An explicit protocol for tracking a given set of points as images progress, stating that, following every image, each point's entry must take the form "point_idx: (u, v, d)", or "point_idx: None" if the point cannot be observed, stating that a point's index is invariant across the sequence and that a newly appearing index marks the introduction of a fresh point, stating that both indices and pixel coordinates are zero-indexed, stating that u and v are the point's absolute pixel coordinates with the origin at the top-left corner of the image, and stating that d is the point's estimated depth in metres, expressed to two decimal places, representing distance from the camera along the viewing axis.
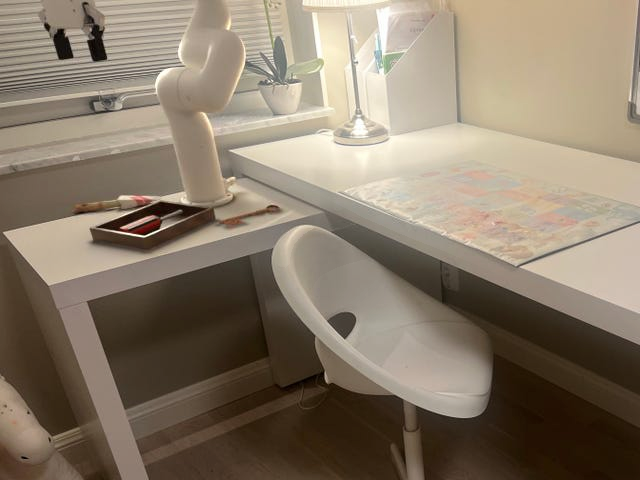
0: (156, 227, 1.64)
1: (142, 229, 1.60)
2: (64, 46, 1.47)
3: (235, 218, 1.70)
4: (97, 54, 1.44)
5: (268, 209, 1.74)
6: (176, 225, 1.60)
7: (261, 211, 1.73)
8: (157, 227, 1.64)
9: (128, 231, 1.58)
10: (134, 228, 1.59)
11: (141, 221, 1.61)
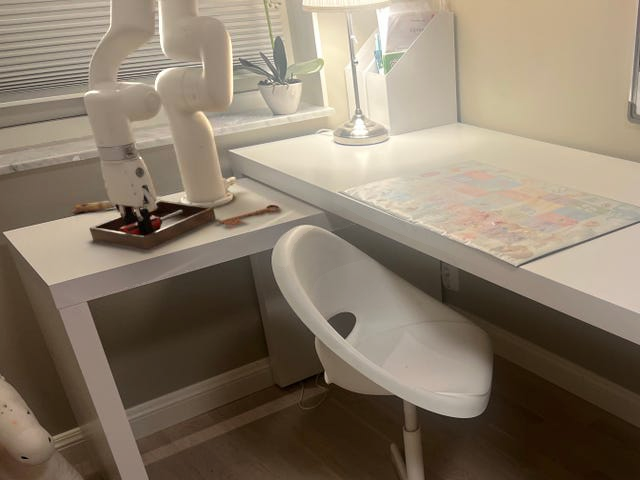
0: (156, 226, 1.64)
1: None
2: None
3: (235, 218, 1.70)
4: (145, 232, 1.60)
5: (268, 209, 1.74)
6: (176, 225, 1.60)
7: (261, 211, 1.73)
8: (157, 227, 1.64)
9: (128, 231, 1.58)
10: (133, 228, 1.59)
11: None
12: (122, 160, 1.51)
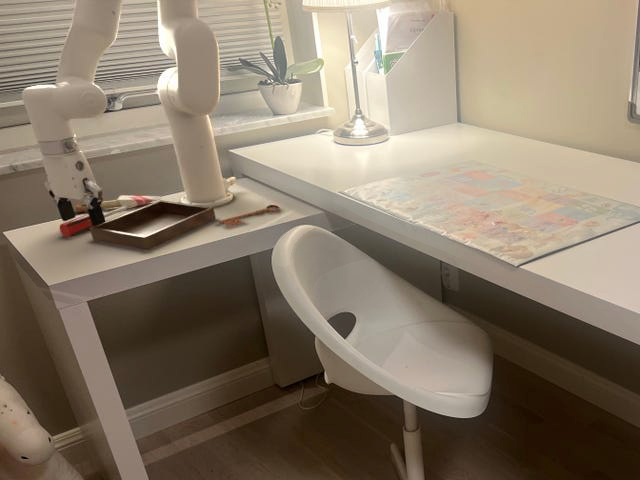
0: None
1: (83, 224, 1.65)
2: (67, 209, 1.67)
3: (235, 218, 1.70)
4: (96, 220, 1.63)
5: (268, 209, 1.74)
6: (176, 225, 1.60)
7: (261, 211, 1.73)
8: None
9: (68, 226, 1.62)
10: (74, 223, 1.64)
11: (82, 217, 1.66)
12: (62, 154, 1.55)
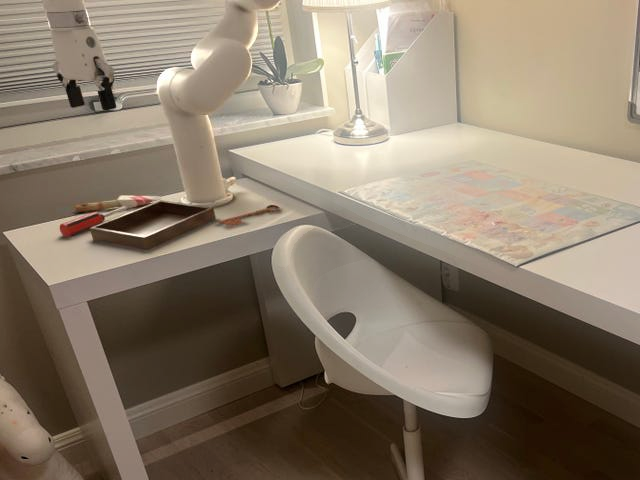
0: (98, 222, 1.68)
1: (83, 224, 1.65)
2: (76, 95, 1.58)
3: (235, 218, 1.70)
4: (107, 103, 1.54)
5: (268, 209, 1.74)
6: (176, 225, 1.60)
7: (261, 211, 1.73)
8: (99, 222, 1.69)
9: (68, 226, 1.62)
10: (74, 223, 1.64)
11: (82, 217, 1.66)
12: (72, 27, 1.46)
